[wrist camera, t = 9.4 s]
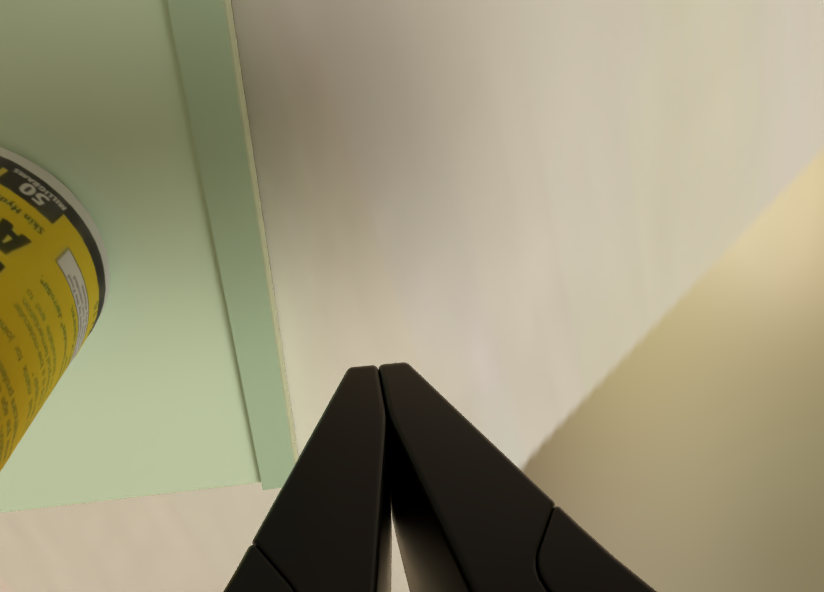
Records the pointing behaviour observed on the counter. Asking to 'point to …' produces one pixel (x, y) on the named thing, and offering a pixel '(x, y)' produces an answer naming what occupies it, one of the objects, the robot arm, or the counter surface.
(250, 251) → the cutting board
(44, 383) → the supplement bottle
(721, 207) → the counter surface
